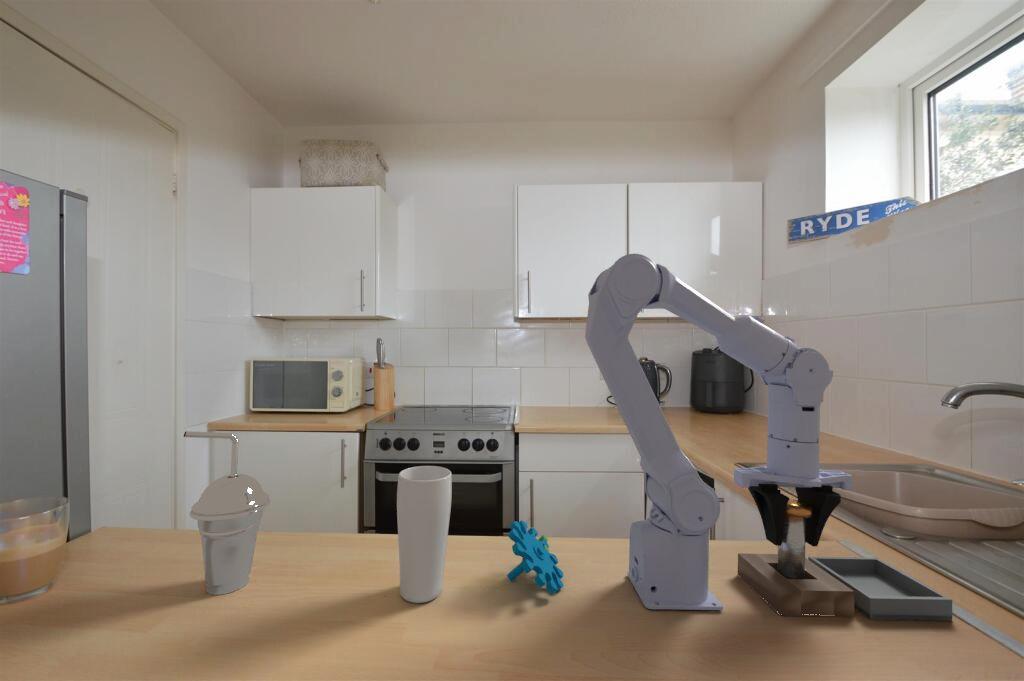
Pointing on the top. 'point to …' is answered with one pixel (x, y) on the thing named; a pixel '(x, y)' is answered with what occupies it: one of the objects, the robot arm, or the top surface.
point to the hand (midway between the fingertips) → (791, 542)
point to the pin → (794, 539)
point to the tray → (886, 590)
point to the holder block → (796, 587)
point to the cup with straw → (228, 523)
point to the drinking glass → (423, 530)
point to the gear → (534, 557)
